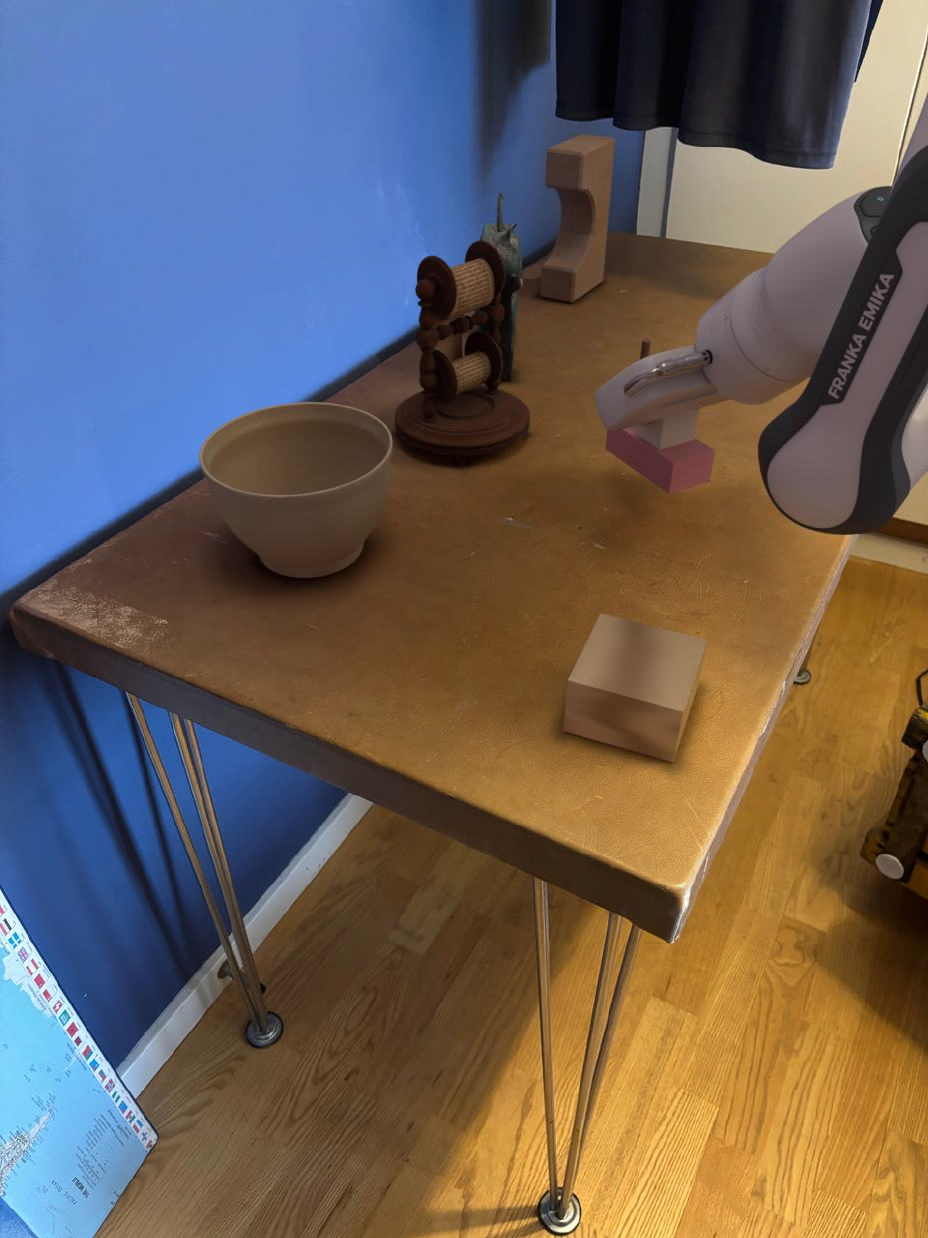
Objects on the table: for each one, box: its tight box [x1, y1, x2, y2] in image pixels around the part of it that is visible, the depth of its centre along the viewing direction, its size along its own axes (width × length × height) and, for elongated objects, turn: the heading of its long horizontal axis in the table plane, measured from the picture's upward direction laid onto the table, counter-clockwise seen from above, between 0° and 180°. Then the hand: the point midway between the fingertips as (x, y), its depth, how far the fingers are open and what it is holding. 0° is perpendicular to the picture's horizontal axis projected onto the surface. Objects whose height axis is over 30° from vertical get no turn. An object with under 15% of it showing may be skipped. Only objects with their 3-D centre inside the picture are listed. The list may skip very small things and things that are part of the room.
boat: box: [605, 338, 716, 495], centre depth 84 cm, size 12×5×11 cm, turn 28°
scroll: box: [394, 239, 531, 466], centre depth 95 cm, size 15×15×20 cm
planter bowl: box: [198, 401, 394, 579], centre depth 80 cm, size 16×16×11 cm
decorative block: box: [539, 133, 616, 304], centre depth 131 cm, size 11×6×20 cm, turn 148°
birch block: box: [562, 613, 708, 763], centre depth 66 cm, size 8×8×5 cm
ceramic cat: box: [472, 192, 524, 382], centre depth 112 cm, size 20×6×20 cm, turn 179°
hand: (662, 411), depth 84 cm, fingers closed on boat, 4 cm apart
